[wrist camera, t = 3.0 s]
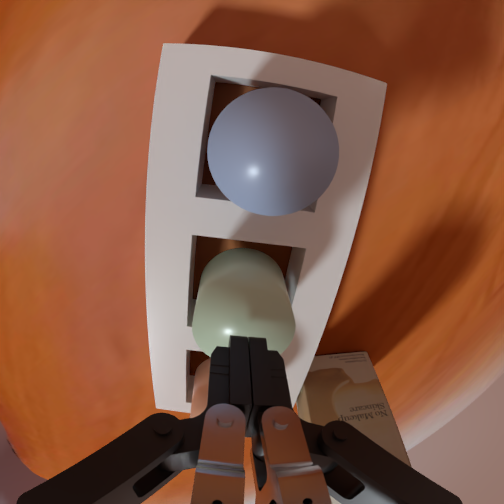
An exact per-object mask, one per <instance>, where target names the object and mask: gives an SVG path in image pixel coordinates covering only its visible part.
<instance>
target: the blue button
mask: <svg viewBox="0 0 504 504" xmlns="http://www.w3.org/2000/svg"><path fill="white" fill-rule="evenodd" d="M207 157H208V164H209V168H210V172H211V174H212V177H213V179H214V181H215V183H216V185H217V186H218V188H219V189H220V190H221V192H222V193H223V194H224V195H225V196H226V197H227V198H228V199H229V200H230V201H232V202H233V203H234V204H236V205H237V206H239V207H240V208H242V209H245V210H247V211H249V212H252V213H255V214H260V215H266V216H281V215H287V214H291V213H294V212H297V211H299V210H302V209H304V208H306V207H307V206H309V205H311V204H312V203H313V202H315V201H316V200H317V199H318V198H319V197H320V196H321V195H322V194H323V193H324V192H325V191H326V189H327V188H328V187H329V185H330V183H331V182H332V180H333V178H334V175H335V173H336V170H337V166H338V160H339V143H338V137H337V134H336V130H335V128H334V126H333V123H332V122H331V120H330V118H329V116H328V115H327V114H326V113H325V111H324V110H323V109H322V108H321V107H320V106H319V105H318V104H317V103H316V102H314V101H313V100H312V99H310V98H309V97H307V96H305V95H303V94H301V93H299V92H296V91H294V90H290V89H286V88H278V87H268V88H261V89H257V90H253V91H250V92H248V93H245V94H243V95H241V96H239V97H238V98H236V99H235V100H233V101H232V102H231V103H230V104H228V105H227V106H226V107H225V108H224V110H223V111H222V112H221V113H220V114H219V116H218V117H217V119H216V121H215V123H214V125H213V126H212V129H211V132H210V135H209V140H208V147H207Z"/></svg>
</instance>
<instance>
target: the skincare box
mask: <svg viewBox="0 0 504 504" xmlns="http://www.w3.org/2000/svg"><path fill="white" fill-rule="evenodd" d="M296 403H297V410H298V416H299V417H300V418H301V419H302V420H304V421H306V422H309V423H313V424H317V425H322V426H325V425H326V424H327V423H329V422H331V421H335V420H340V421H344V422H347V423H349V424H350V425H352V426H353V427H354V428H356V429H357V430H359V431H360V432H361V433H363V434H364V435H365V436H367V437H368V438H369V439H371V440H372V441H374V442H375V443H376V444H378V445H379V446H381V447H382V448H384V449H385V450H386V451H388V452H389V453H391V454H392V455H394V456H395V457H396V458H398V459H399V460H401V461H402V462H404V463H405V464H407V465H408V466H410V467H411V464H410V461H409V458H408V455H407V452H406V449H405V447H404V444H403V441H402V438H401V435H400V433H399V430H398V427H397V425H396V422H395V419H394V417H393V414H392V411H391V409H390V406H389V404H388V401H387V399H386V396H385V394H384V391H383V389H382V386H381V384H380V382H379V379H378V377H377V374H376V372H375V370H374V367H373V365H372V362H371V360H370V358H369V356H368V353H367V352H353V353H343V354H332V355H322V356H314V358H313V361H312V363H311V366H310V368H309V371H308V373H307V376H306V378H305V381H304V383H303V385H302V388H301V390H300V393H299V395H298V397H297V400H296ZM411 468H412V467H411ZM330 498H331V502H332V504H341V503H339V502H338V501H337V500H335V499H334V498H333V497H332V496H330Z"/></svg>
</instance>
